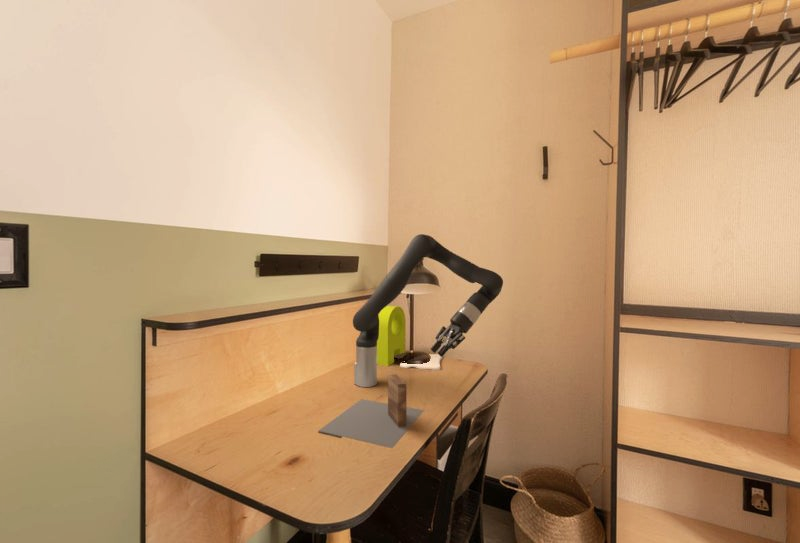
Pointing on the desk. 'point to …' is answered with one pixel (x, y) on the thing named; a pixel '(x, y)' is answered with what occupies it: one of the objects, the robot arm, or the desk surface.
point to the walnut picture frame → (397, 400)
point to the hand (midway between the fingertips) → (436, 352)
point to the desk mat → (370, 423)
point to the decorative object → (390, 334)
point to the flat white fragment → (432, 364)
